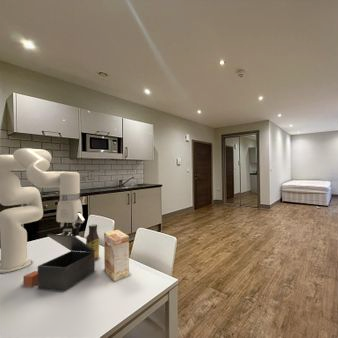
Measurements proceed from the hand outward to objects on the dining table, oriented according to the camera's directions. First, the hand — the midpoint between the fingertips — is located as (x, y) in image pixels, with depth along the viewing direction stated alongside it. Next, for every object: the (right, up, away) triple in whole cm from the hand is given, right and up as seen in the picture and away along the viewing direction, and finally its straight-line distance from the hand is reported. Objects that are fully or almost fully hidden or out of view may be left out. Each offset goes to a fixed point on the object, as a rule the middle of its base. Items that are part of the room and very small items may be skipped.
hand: (70, 235), depth 91 cm
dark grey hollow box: (0, -21, -1) cm, 21 cm away
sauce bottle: (-2, -21, +18) cm, 28 cm away
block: (-14, -21, -4) cm, 25 cm away
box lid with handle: (0, -5, +1) cm, 5 cm away
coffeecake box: (+19, -21, +5) cm, 29 cm away
